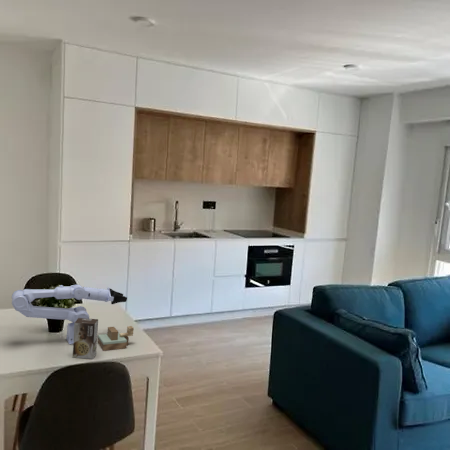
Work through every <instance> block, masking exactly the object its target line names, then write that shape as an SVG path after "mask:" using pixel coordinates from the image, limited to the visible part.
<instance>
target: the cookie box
mask: <svg viewBox="0 0 450 450" xmlns="http://www.w3.org/2000/svg"><path fill="white" fill-rule="evenodd" d="M98 327H99V319H98V318H89V319H87V318H78V319H77V320H76V322H75V323H74V343H73V344H72V345H73V346H72V358H76V359H78V358H79V359H89V360H90V359H91V360H93V359H94V358H95V356H96V355H97V347H98V346H97V345H98V331H99V330H98V329H99V328H98Z"/></svg>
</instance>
